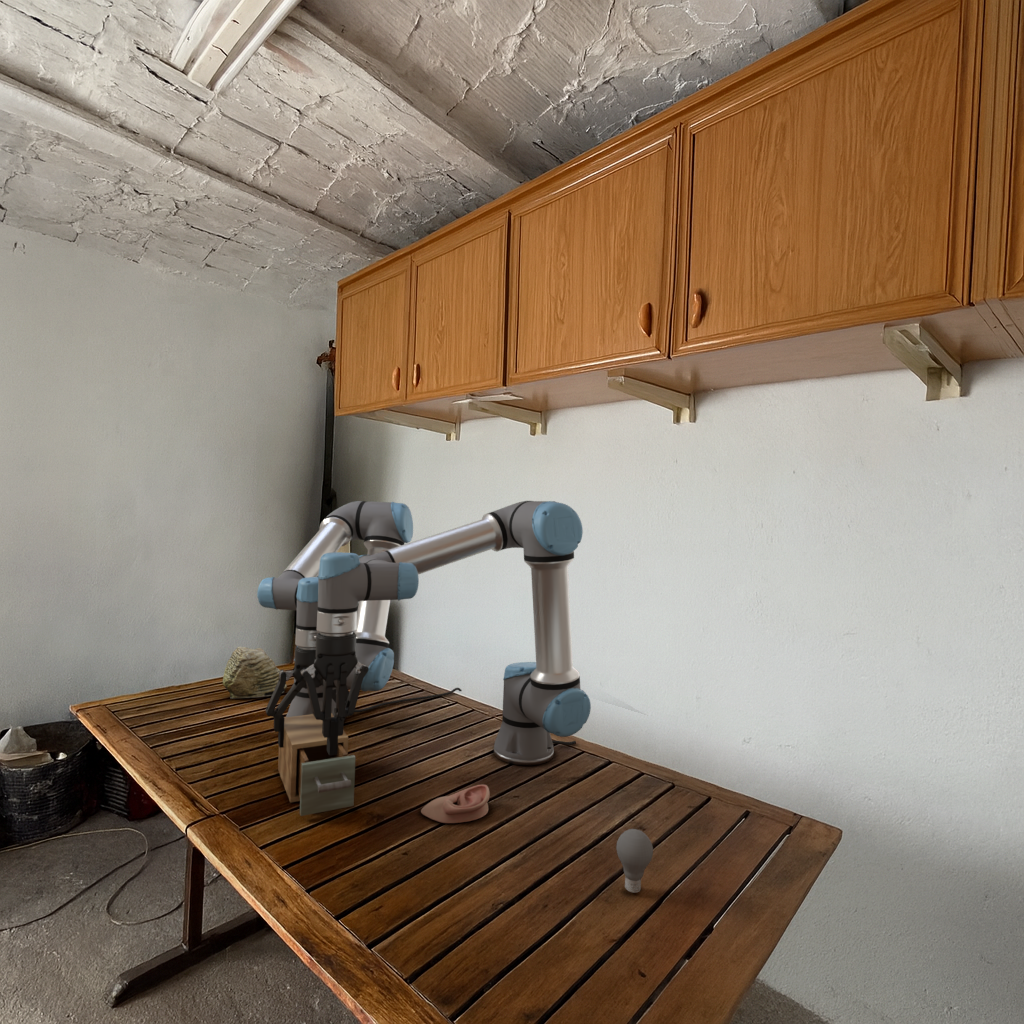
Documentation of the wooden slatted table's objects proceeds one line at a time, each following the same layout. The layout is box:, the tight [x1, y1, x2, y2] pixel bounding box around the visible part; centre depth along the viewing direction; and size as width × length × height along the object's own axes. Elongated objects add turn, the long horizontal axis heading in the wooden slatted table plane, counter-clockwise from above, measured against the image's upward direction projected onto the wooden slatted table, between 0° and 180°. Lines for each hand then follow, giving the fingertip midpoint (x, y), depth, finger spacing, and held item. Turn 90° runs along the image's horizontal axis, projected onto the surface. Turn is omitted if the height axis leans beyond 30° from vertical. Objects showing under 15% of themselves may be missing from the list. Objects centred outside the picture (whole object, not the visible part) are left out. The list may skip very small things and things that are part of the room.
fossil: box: [222, 646, 288, 699], centre depth 198 cm, size 9×18×15 cm, turn 132°
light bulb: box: [615, 828, 654, 894], centre depth 106 cm, size 6×6×10 cm
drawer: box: [296, 743, 356, 817], centre depth 130 cm, size 21×10×10 cm, turn 28°
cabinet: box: [277, 713, 349, 803], centre depth 141 cm, size 17×12×12 cm
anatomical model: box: [420, 784, 491, 824], centre depth 130 cm, size 13×4×12 cm
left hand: (309, 741), depth 144 cm, fingers closed on cabinet, 12 cm apart
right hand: (331, 752), depth 124 cm, fingers closed
